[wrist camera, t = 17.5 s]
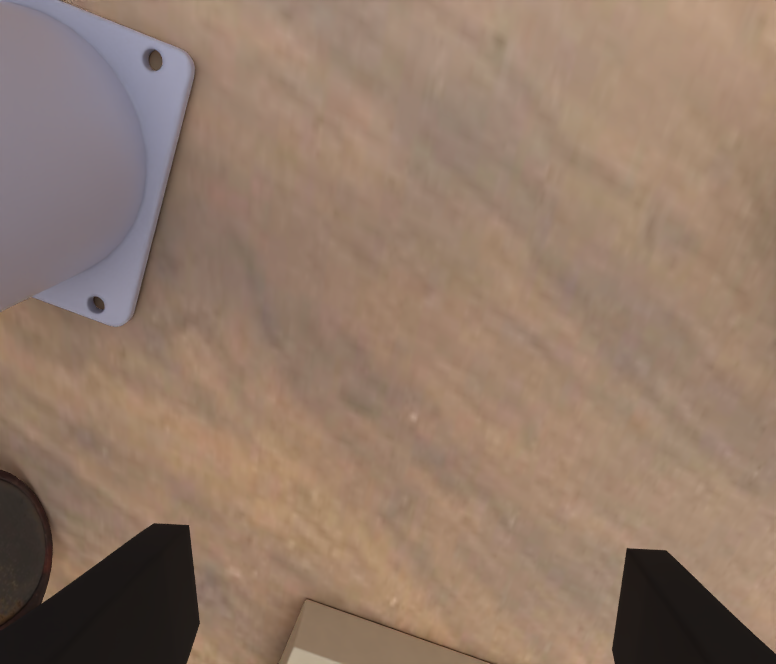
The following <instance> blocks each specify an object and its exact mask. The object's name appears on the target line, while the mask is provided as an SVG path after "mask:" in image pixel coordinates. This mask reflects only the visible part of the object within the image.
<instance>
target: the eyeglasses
mask: <svg viewBox="0 0 776 664" xmlns="http://www.w3.org/2000/svg"><path fill="white" fill-rule="evenodd" d="M52 555H53V543H52V534H51V530H50V525H49V522H48V519H47V517H46V514H45V512H44V510H43V508H42V506H41V504H40V502H39V501H38V499H37V498H36V496H35V495H34V493H33V492H32V491H31V489H30V488H29V487H28V486H27V485H26V484H25V483H24V482H22V481H21V480H20V479H18V478H17V477H16V476H14V475H12V474H10V473H8V472H5V471H2V470H0V631H1V630H3V629H4V628H6V627H7V626H9V625H10V624H12V623H13V622H15V621H16V620H18V619H19V618H21V617H22V616H24V615H25V614H27V613H28V612H30V611H31V610H33V609H34V608H36V607H37V606H39V605H40V604H41V603H42V600H43V597H44V594H45V591H46V588H47V584H48V581H49V576H50V572H51V567H52Z"/></svg>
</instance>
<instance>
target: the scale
mask: <svg viewBox="0 0 776 664" xmlns="http://www.w3.org/2000/svg"><path fill="white" fill-rule="evenodd" d="M278 664H491V663H488V662H485V661H482V660H479V659H476V658H473V657H471V656H468V655H465V654H462V653H459V652H456V651H453V650H451V649H448V648H445V647H442V646H439V645H436V644H433V643H431V642H428V641H425V640H422V639H419V638H416V637H414V636H411V635H408V634H405V633H402V632H399V631H396V630H394V629H391V628H388V627H385V626H382V625H379V624H376V623H374V622H371V621H368V620H365V619H362V618H359V617H356V616H354V615H351V614H348V613H345V612H342V611H339V610H336V609H334V608H331V607H328V606H325V605H322V604H319V603H317V602H314V601H311V600H308V599H306V600H305V602H304V604H303V607H302V609H301V611H300V614H299V616H298V618H297V621H296V623H295V626H294V628H293V630H292V633H291V635H290V637H289V640H288V642H287V645H286V647H285V649H284V652H283V654H282V656H281V659H280V661H279V663H278Z"/></svg>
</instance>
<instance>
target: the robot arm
mask: <svg viewBox="0 0 776 664" xmlns="http://www.w3.org/2000/svg"><path fill="white" fill-rule="evenodd" d="M155 50H157V51H158V52H159V53H160V54H161V56H162V60H163V64H162V66H161V68H160V69H159V70H157V71H155V70H153V69H152V68H151V66H150V64H149V56H150V54H151V52H153V51H155ZM194 76H195V66H194V62H193V59H192V58H191V57H190V55H189V54H188V53H187V52H186V51H184V50H182V49H181V48H178V47H176V46H173V45H171V44H168V43H166V42H163V41H161V40H158V39H156V38H153V37H151V36H148V35H146V34H143V33H141V32H138V31H136V30H133V29H131V28H128V27H126V26H123V25H121V24H118V23H116V22H113V21H111V20H108V19H106V18H103V17H101V16H98V15H96V14H93V13H91V12H88V11H86V10H83V9H81V8H78V7H76V6H73V5H71V4H68V3H66V2H63V1H60V0H0V312H2V311H4V310H6V309H8V308H10V307H12V306H14V305H16V304H18V303H20V302H22V301H24V300H26V299H28V298H30V297H33V298H36V299H38V300H41V301H44V302H46V303H49V304H52V305H55V306H57V307H60V308H63V309H65V310H68V311H71V312H73V313H76V314H79V315H82V316H84V317H87V318H90V319H92V320H95V321H98V322H101V323H103V324H106V325H109V326H113V327H118V326H122V325H124V324H125V323H126V322H128V321H129V320H130V319H131V318H132V316H133V314H134V311H135V307H136V303H137V299H138V296H139V292H140V288H141V284H142V280H143V276H144V272H145V268H146V264H147V260H148V256H149V252H150V248H151V245H152V241H153V237H154V233H155V229H156V225H157V221H158V217H159V213H160V209H161V205H162V201H163V197H164V194H165V190H166V186H167V182H168V178H169V174H170V170H171V166H172V162H173V158H174V154H175V150H176V146H177V142H178V139H179V135H180V131H181V127H182V123H183V119H184V115H185V111H186V107H187V103H188V99H189V95H190V91H191V88H192V84H193V80H194ZM94 296H96V297H99V298H100V299H102V301H103V302H104V306H105V309H104V310H103V309H99V308H98V307H96V305H95V304H94V300H93V298H94ZM199 624H200V621H199V612H198V603H197V594H196V584H195V575H194V566H193V557H192V548H191V539H190V530H189V525H176V524H157V523H154V524H152V525H151V526H149V527H148V528H146V529H145V530H143V531H142V532H140V533H139V534H138V535H136V536H135V537H133V538H132V539H131V540H129V541H128V542H126V543H125V544H124V545H122V546H121V547H120V548H118V549H117V550H116V551H114V552H113V553H111V554H110V555H109V556H107V557H106V558H105V559H103V560H102V561H101V562H99V563H98V564H97V565H95V566H94V567H92V568H91V569H90V570H88V571H87V572H85V573H84V574H83V575H81V576H80V577H79V578H77V579H76V580H74V581H73V582H72V583H70V584H69V585H67V586H66V587H65V588H63V589H62V590H60V591H59V592H58V593H56V594H55V595H54V596H52V597H51V598H49V599H48V600H46V601H45V602H43V603H42V604H40V605H39V606H37V607H36V608H34V609H33V610H31V611H30V612H28V613H27V614H25V615H24V616H22V617H21V618H19V619H18V620H16V621H15V622H13V623H12V624H10V625H9V626H7V627H6V628H4V629H3V630H1V631H0V664H186V663H187V661H188V658H189V655H190V652H191V649H192V646H193V643H194V639H195V636H196V633H197V630H198V627H199ZM612 651H613V656H614V661H615V664H776V654H775V653H774V652H773V651H772V650H771V649H770V648H769V647H767V646H766V645H765V644H764V643H763V642H762V641H761V640H760V639H759V638H758V637H756V636H755V635H754V634H753V633H752V632H751V631H750V630H749V629H748V628H747V627H746V626H745V625H743V624H742V623H741V622H740V621H739V620H738V619H737V618H736V617H735V616H734V615H733V614H732V613H731V612H730V611H729V610H728V609H727V608H726V607H725V606H723V605H722V604H721V603H720V602H719V601H718V600H717V599H716V598H715V597H714V596H713V595H712V594H711V593H710V592H709V591H708V590H707V589H706V588H705V587H704V586H703V585H702V584H701V583H700V582H699V581H698V580H697V579H696V578H695V577H694V576H693V575H691V574H690V573H689V572H688V571H687V570H686V569H685V568H684V567H683V566H682V565H681V564H680V563H679V562H678V561H677V560H676V559H675V558H674V557H673V556H672V555H671V554H669V553H668V552H667V551H666V550H648V549H629V548H627V551H626V558H625V565H624V571H623V578H622V585H621V592H620V599H619V606H618V613H617V620H616V627H615V633H614V640H613V647H612Z"/></svg>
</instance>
